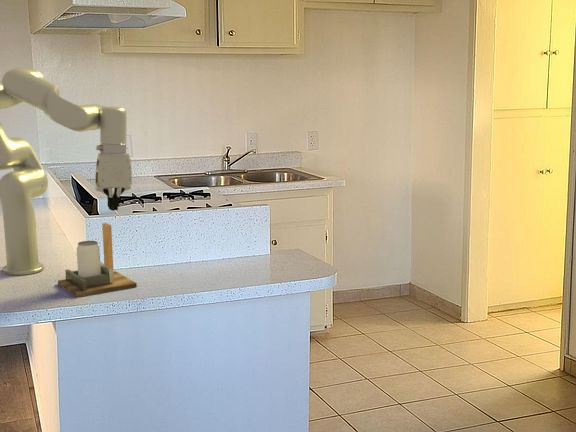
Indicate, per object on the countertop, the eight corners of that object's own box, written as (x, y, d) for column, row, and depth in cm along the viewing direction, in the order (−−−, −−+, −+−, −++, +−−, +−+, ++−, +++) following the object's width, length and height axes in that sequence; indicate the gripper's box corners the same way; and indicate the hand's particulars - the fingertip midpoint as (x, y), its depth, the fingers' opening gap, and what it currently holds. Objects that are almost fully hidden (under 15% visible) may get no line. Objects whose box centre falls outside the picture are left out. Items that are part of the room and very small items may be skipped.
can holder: (65, 279, 232) (65, 269, 232) (93, 275, 237) (93, 265, 237) (83, 291, 220) (82, 281, 220) (112, 286, 225) (111, 276, 224)
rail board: (58, 284, 232) (58, 280, 232) (115, 275, 242) (115, 271, 242) (76, 297, 219) (76, 293, 219) (136, 287, 229) (136, 283, 229)
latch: (97, 276, 235) (94, 222, 232) (105, 274, 236) (102, 221, 233) (109, 283, 227) (107, 227, 224) (117, 282, 229) (114, 226, 225)
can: (103, 279, 232) (101, 240, 230) (98, 285, 226) (96, 245, 224) (81, 279, 232) (79, 240, 230) (76, 286, 226) (73, 245, 223)
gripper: (93, 151, 224) (93, 214, 228) (142, 149, 232) (141, 210, 236) (84, 148, 230) (84, 209, 234) (132, 146, 238) (131, 205, 242)
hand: (113, 209), depth 235 cm, fingers closed
